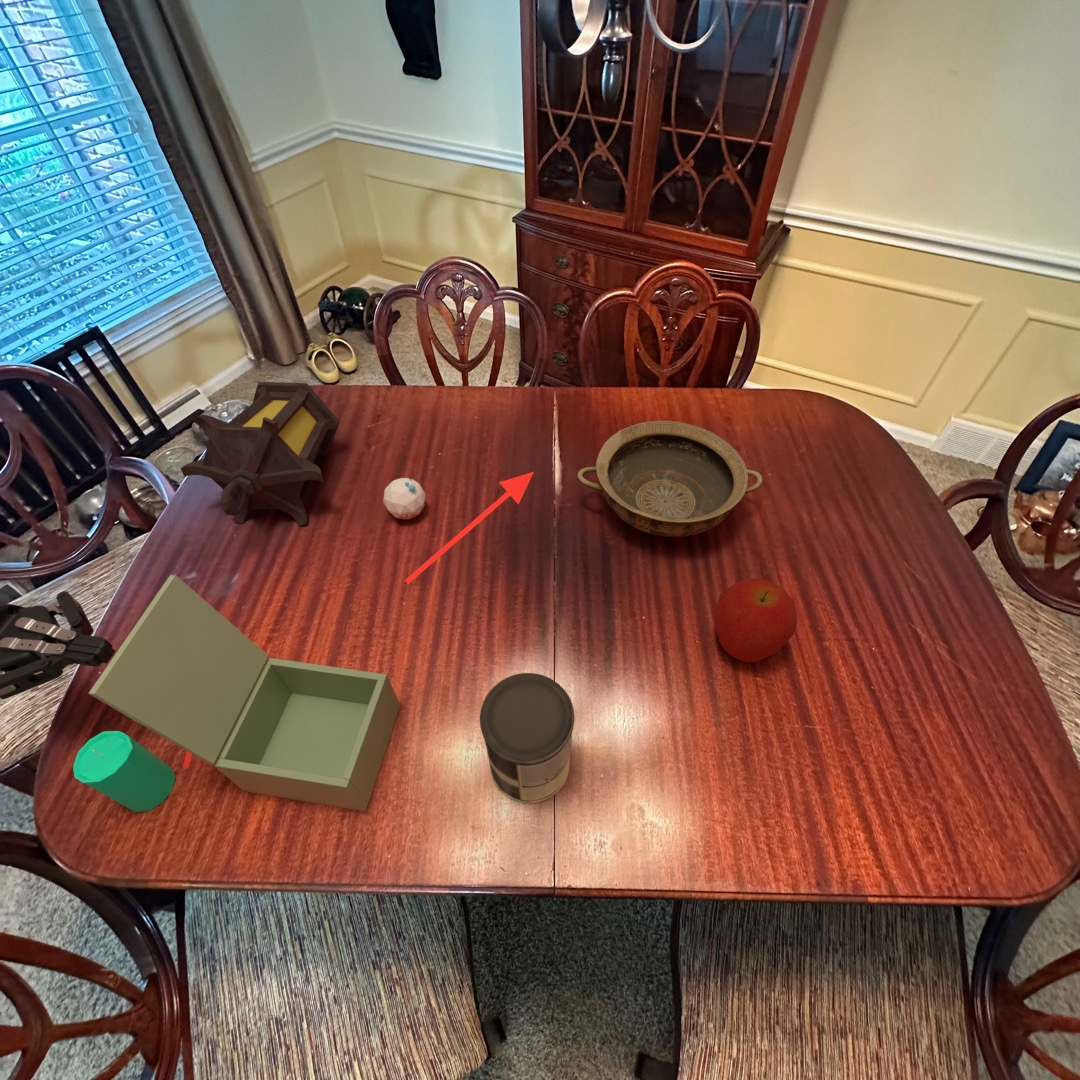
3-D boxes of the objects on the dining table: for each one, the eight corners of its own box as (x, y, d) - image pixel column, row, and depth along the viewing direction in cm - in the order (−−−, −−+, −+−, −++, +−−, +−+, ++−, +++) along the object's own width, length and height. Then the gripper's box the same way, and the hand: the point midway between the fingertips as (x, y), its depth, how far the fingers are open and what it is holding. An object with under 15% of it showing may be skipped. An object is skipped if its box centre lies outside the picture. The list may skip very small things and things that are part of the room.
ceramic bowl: (740, 465, 111) (754, 422, 103) (762, 567, 95) (781, 526, 88) (577, 459, 112) (579, 416, 105) (573, 559, 97) (575, 517, 89)
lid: (175, 574, 64) (169, 574, 64) (94, 693, 55) (87, 693, 55) (268, 655, 76) (263, 655, 76) (213, 764, 67) (208, 763, 67)
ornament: (384, 527, 102) (373, 494, 96) (394, 497, 107) (384, 463, 101) (423, 529, 102) (415, 496, 96) (431, 499, 106) (424, 465, 100)
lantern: (367, 466, 119) (313, 570, 96) (252, 453, 119) (171, 554, 96) (355, 363, 105) (288, 457, 82) (224, 349, 105) (121, 438, 82)
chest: (400, 705, 81) (386, 674, 74) (365, 811, 72) (346, 787, 66) (290, 689, 83) (267, 657, 76) (243, 791, 74) (212, 765, 67)
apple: (785, 631, 88) (817, 574, 77) (769, 688, 82) (802, 635, 71) (715, 606, 91) (737, 547, 80) (696, 659, 85) (717, 603, 75)
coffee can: (479, 794, 74) (467, 751, 63) (501, 716, 80) (493, 664, 69) (562, 813, 72) (564, 772, 61) (577, 732, 78) (582, 682, 68)
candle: (158, 816, 72) (101, 782, 63) (112, 808, 73) (50, 773, 64) (184, 766, 76) (134, 728, 67) (141, 759, 77) (86, 720, 68)
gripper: (-112, 669, 60) (44, 693, 58) (-14, 566, 68) (125, 583, 67) (-54, 702, 66) (89, 725, 64) (30, 603, 74) (159, 620, 72)
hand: (107, 652), depth 65 cm, fingers closed
